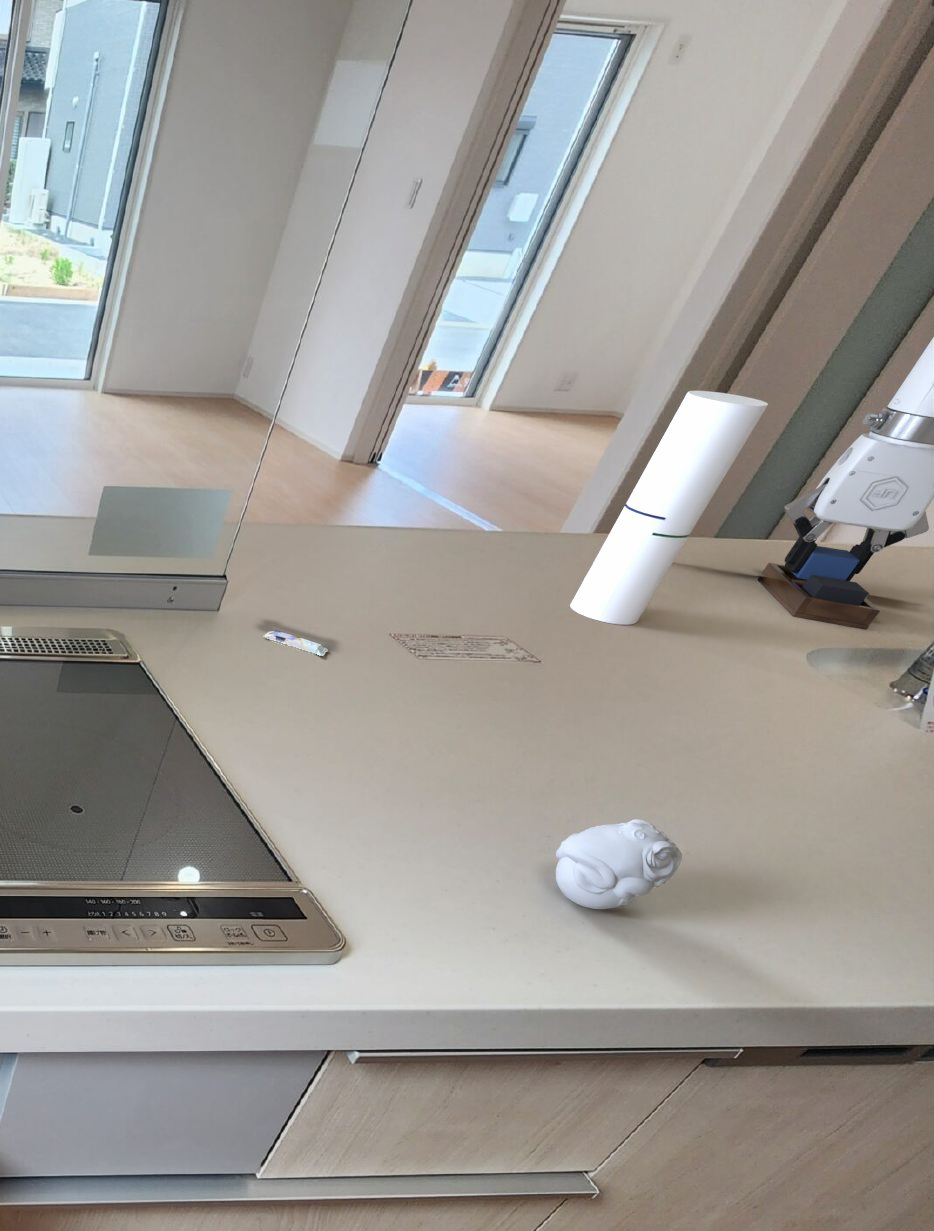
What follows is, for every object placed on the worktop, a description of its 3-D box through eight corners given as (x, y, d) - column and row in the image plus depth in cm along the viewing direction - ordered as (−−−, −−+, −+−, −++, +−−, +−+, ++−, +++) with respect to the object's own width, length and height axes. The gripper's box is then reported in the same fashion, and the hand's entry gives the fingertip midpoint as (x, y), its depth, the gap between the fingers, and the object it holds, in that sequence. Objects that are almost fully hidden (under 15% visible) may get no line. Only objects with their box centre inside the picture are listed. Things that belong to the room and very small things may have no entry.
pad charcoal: (838, 607, 124) (856, 582, 122) (850, 618, 121) (869, 593, 119) (793, 599, 125) (810, 574, 123) (804, 610, 122) (822, 585, 120)
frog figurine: (656, 935, 68) (716, 859, 64) (552, 920, 69) (605, 844, 65) (614, 883, 73) (667, 809, 69) (517, 869, 74) (564, 795, 70)
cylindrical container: (577, 597, 123) (693, 388, 108) (642, 614, 119) (772, 400, 104) (563, 610, 119) (682, 395, 104) (630, 629, 115) (763, 408, 100)
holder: (824, 591, 130) (836, 573, 129) (866, 629, 119) (880, 610, 118) (757, 579, 132) (768, 562, 131) (792, 616, 122) (805, 597, 120)
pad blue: (830, 575, 128) (847, 550, 126) (842, 585, 125) (860, 560, 123) (786, 568, 129) (803, 543, 127) (797, 578, 126) (814, 553, 124)
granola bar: (328, 654, 105) (331, 645, 104) (321, 660, 104) (324, 652, 103) (268, 634, 108) (271, 626, 108) (260, 640, 107) (263, 632, 106)
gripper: (841, 425, 116) (747, 569, 127) (1023, 447, 110) (908, 596, 121) (819, 413, 121) (730, 552, 132) (990, 433, 116) (884, 577, 127)
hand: (817, 572), depth 127 cm, fingers closed on pad blue, 4 cm apart
